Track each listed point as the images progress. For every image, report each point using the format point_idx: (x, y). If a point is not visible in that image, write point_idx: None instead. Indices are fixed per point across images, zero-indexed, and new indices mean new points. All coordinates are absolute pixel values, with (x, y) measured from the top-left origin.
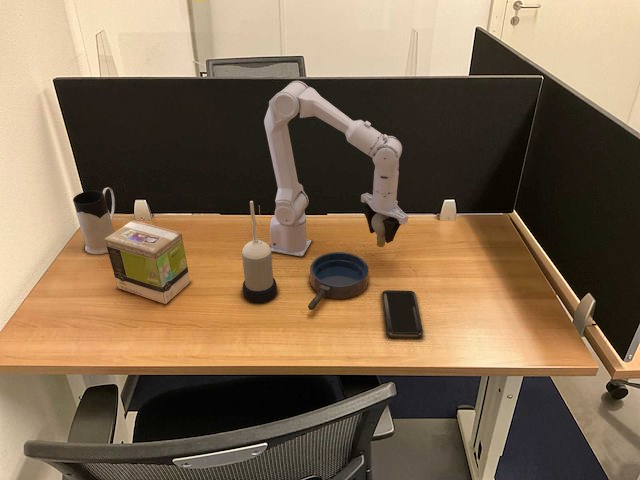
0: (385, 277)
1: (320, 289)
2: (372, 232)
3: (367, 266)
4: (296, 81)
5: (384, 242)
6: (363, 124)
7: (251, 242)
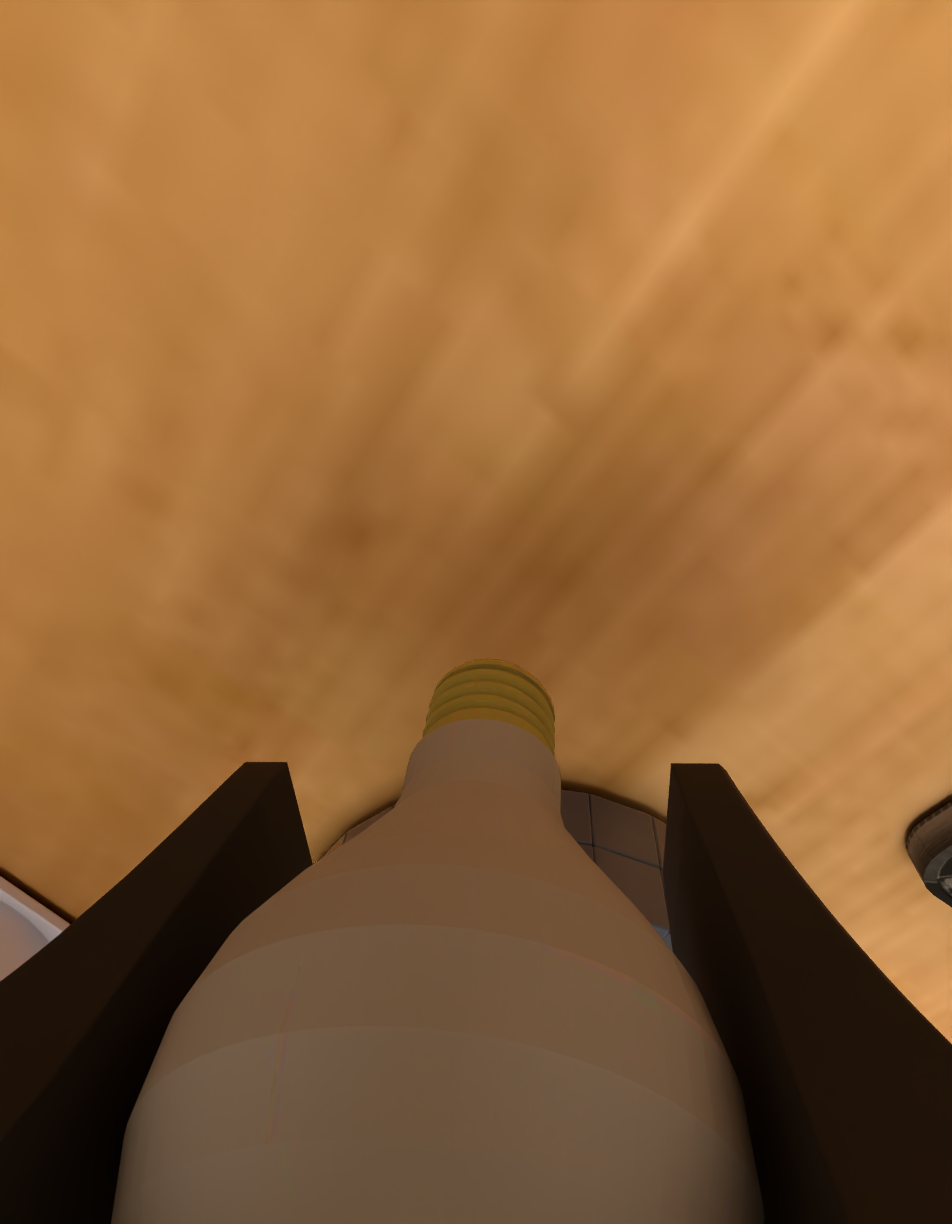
0: (744, 678)
1: None
2: (304, 859)
3: (662, 931)
4: None
5: (553, 742)
6: None
7: None
